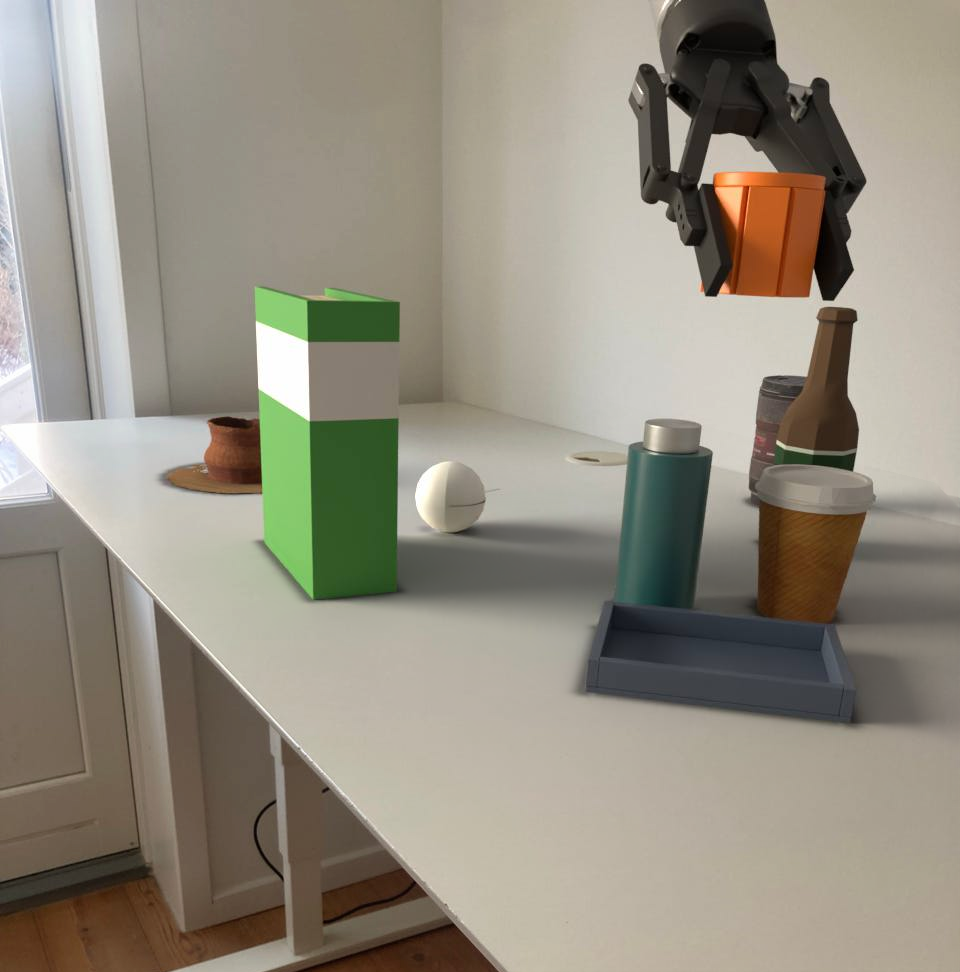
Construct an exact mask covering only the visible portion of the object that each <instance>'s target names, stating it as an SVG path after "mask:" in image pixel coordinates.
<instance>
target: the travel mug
mask: <svg viewBox="0 0 960 972" xmlns="http://www.w3.org/2000/svg"><path fill="white" fill-rule="evenodd" d="M806 378H807V376H803V375H786V374H785V375H784V374H783V375H769V376H765V377H762V381H761V386H759V390H758V396H757V397H758V398H757V405H756V413H755V425H756V426H755V430H754V431H755V432H754V433H755V435H754V440H753V446H752V452H751V458H750V463H749V472H748V490H749V491H750V504H751V505H753V506H755V507H758V508H759V498H758V496H757V493H758V491H757V490H756V489H755V485H756V483H757V482H759V481H760V479H761V476H762V473H763V471H764V469H765V468H767V467H770V466H773V462H774V455H775V448H776V442H777V437H778V432H779V428H780V423H781V421H782V419H783V417H784V415H785V413H786V411H787V409H788V407H789V406H790V405H791V404H792V403H793V401H794V400H795V399H796V398H797V397H798V396H799V395H800V393H801V392H802V390H803V387H804V384H805V381H806Z"/></svg>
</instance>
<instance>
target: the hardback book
mask: <svg viewBox="0 0 960 972" xmlns="http://www.w3.org/2000/svg"><path fill="white" fill-rule="evenodd" d="M254 307H255V332H256V334H255V335H256V357H257V359H256V360H257V362H256V363H257V383H258V385H257V386H258V409H259V411H258V413H259V419H260V440H261V466H262V492H263V493H262V516H263V518H262V519H263V535H264V536H263V541H264V544H265V545H266V547H268V549H269V550H270V552H272V554H274V556H275V557H276V558H277V559H278V561H280V563H281V564H282V565H283V566H284V568H285V569H286V570H287V571H288V573H290V575H291V576H292V577H293V578H294V579H295V581H296V582H297V583H298V584H299V586H301V587H302V589H303V590H304V591H305V592H306V594H308V596H309V597H310V598H311V599H312V600H313V601H315V600H324V599H335V598H345V597H353V596H363V595H364V596H365V595H372V594H383V593H391V592H398V575H397V574H398V513H399V512H398V509H399V505H398V504H399V502H398V501H399V426H400V425H399V424H400V423H399V422H400V421H399V418H400V417H399V416H400V414H399V413H400V411H399V410H400V408H399V407H400V336H401V335H400V333H401V332H400V330H401V326H400V321H401V320H400V319H401V318H400V317H401V302H400V301H397V300H393V299H387V298H383V297H378V296H373V295H369V294H364V293H360V292H356V291H350V290H346V289H341V288H336V287H324V295H309V294H308V295H307V294H306V295H305V294H304V295H303V294H301V295H300V294H295V293H291V292H286V291H284V290H279V289H276V288H271V287H268V286H260V285H259V286H256V285H255V286H254Z"/></svg>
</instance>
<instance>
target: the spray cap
mask: <svg viewBox="0 0 960 972" xmlns="http://www.w3.org/2000/svg"><path fill="white" fill-rule="evenodd" d="M825 180H826V177H824V176H819V175H811V174H799V173H780V172H778V171H775V172H774V171H722V172H715V173H714V174H713V177H712V184H713V185H714V189H715V193H716V198H717V202H718V206H719V210H720V214H721V218H722V222H723V226H724V231H725V235H726V239H727V243H728V247H729V251H730V255H731V259H732V264H733V266H732V268H731V270H730V272H729V274H728V276H727V278H726V280H725V282H724V284H723V285H722V287H721V289H720V291H719V293H718V295H731V296H732V295H733V296H745V297H746V296H747V297H763V298H764V297H765V298H798V299H799V298H801V299H802V298H803V299H804V298H810V295H811V289H812V281H813V275H814V263H815V256H816V250H817V243H818V237H819V230H820V223H821V217H822V210H823V204H824V197H825V191H824V187H825ZM700 280H701V279H700ZM699 291H700V292H701V293H704V289H703V285H702V280H701V281H700V289H699Z"/></svg>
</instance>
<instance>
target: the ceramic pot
mask: <svg viewBox="0 0 960 972" xmlns="http://www.w3.org/2000/svg"><path fill="white" fill-rule="evenodd" d="M206 424H207V426H208V428H209V433H210V438H211V439H210V443H209V444H208V446H207V448H206V450H205V451H204V453H203V462H204V465H201V464H193V465H191V466H190V467H182V468H178V469H174V470H172V472H170V473H168V474H167V475H166V477H165V478H164V479H165V480H168V481H169V483H170V484H172V485H175V486H176V487H181V488H186V489H188V490H191V491H193V490H196V491H199V492H207V493H216V494H220V493H222V494H261V493H262V494H263V492H262V466H261V440H260V418H254V417H253V418H252V419H246V418H244V417H242V418H238V417H233V416H218V417H212V418H210V419H208V420H206Z"/></svg>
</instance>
